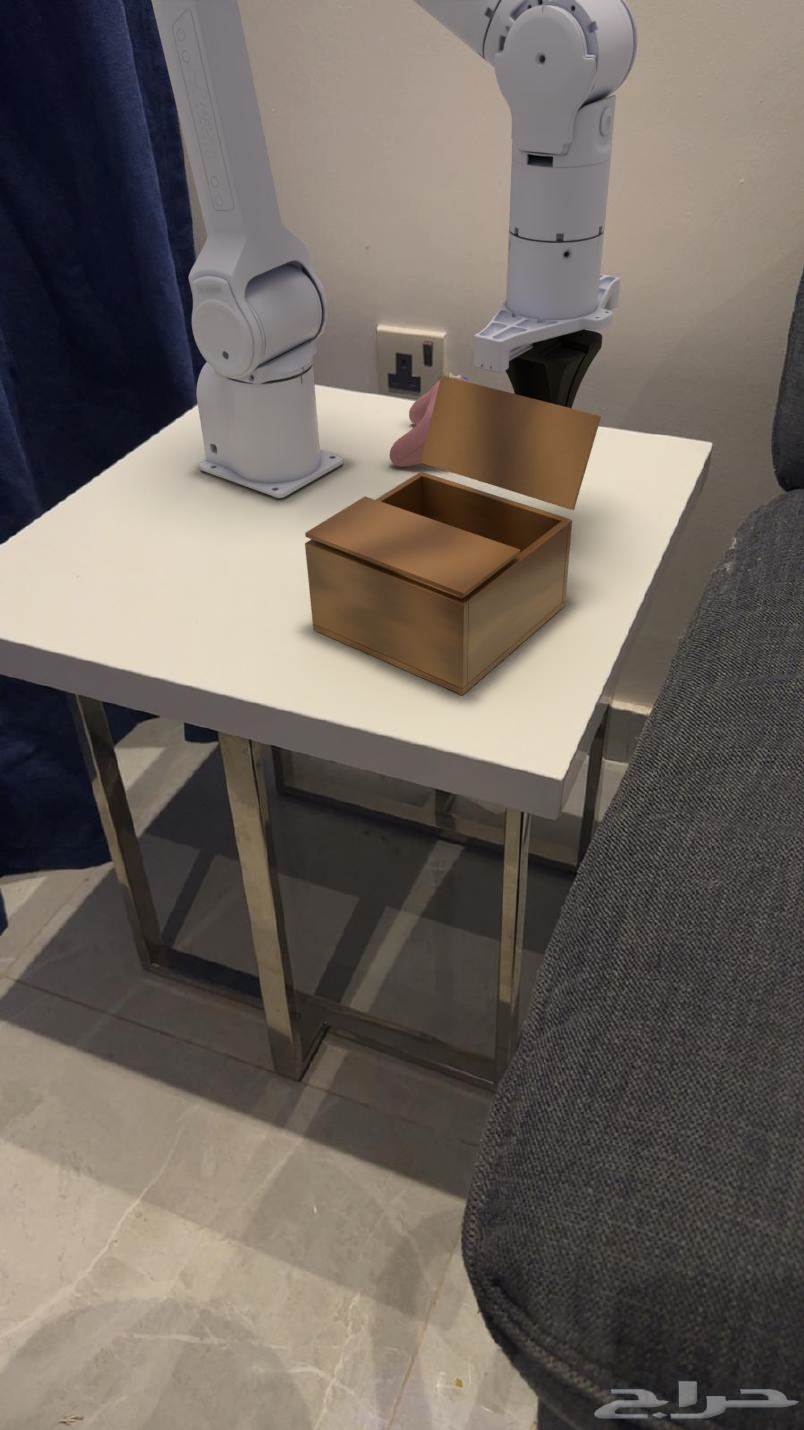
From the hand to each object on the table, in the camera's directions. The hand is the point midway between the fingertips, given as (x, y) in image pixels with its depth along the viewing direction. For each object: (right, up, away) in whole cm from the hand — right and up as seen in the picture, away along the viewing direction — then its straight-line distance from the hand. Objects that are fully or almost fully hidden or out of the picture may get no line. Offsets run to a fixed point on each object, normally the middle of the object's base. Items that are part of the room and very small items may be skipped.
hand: (542, 442), depth 71 cm
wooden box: (-7, -12, -2) cm, 14 cm away
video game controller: (-7, +4, +18) cm, 20 cm away
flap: (-3, -1, -4) cm, 5 cm away
